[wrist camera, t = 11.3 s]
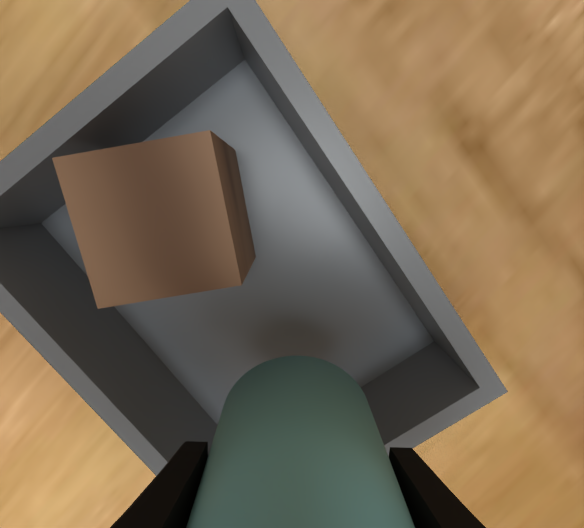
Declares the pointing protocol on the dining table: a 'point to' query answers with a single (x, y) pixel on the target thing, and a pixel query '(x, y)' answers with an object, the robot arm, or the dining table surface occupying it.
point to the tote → (267, 244)
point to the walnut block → (158, 217)
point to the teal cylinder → (298, 454)
